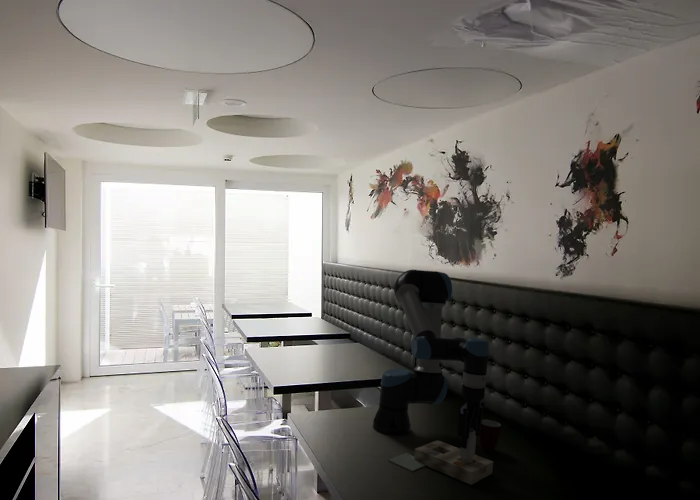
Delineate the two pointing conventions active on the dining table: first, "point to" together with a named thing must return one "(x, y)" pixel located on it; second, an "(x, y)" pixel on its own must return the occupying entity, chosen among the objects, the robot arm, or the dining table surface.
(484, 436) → the mug
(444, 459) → the socket block
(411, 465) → the pad
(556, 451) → the dining table surface
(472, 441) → the plug
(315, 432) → the dining table surface
